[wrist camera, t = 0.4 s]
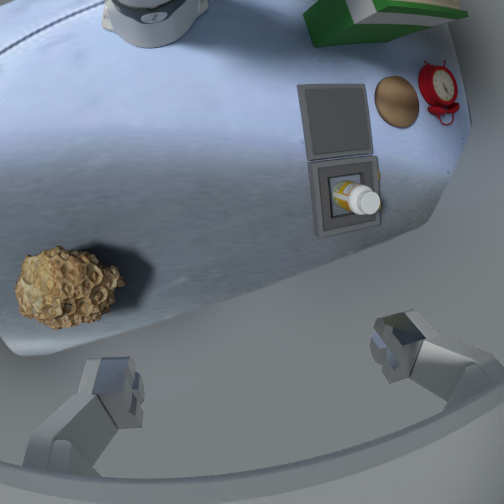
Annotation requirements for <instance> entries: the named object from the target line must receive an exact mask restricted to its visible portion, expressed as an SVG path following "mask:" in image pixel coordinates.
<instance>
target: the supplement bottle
mask: <svg viewBox="0 0 504 504" xmlns="http://www.w3.org/2000/svg"><path fill="white" fill-rule="evenodd" d="M333 200H334V202H335V203H336V205H337V206H339V207H341V208H343V209H346V210H348V211H351V212H353V213H355V214H358V215H364V214H374V213H375V212H376V211H377V210H378V208H379V206H380V198H379V196H378V194H377V193H375V192H373V191H372V189H371V188H370V187H368V186H366V185H362V184H358V183H354V182H350V181H341V182H339V183H338V184H337V185H336V186H335V188H334V190H333Z"/></svg>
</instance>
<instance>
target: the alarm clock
mask: <svg viewBox="0 0 504 504" xmlns="http://www.w3.org/2000/svg"><path fill="white" fill-rule="evenodd" d="M424 62H425V63H426V61H424ZM445 62H446V61H445V60H444V67H443V66H434V65H429V64H427V63H426V64H427V65H426V66H424V67H423V68H422V69H421V71H420V73H419V79H418V81H419V88H420V91H421V94H422V96H423V97H424V99H425V100H426V102H427V103H428V104H429V105H431V106H433V107H428V111H429V112H430V113H432V114H435V115H437V117H439V119H440V116H439V115H444V114H445V113H452V116H453V113H454V114H455V112H456V111H458V110H459V107H460V106H459V103H456V102H454V101H455V100H456V98H457V92H458V90H457V83H456V80H455V78H454V76H453V74H452V73H451V72H450V71H449V70H448V69H447V68H445ZM453 102H454V103H453ZM445 105H446V106H447V105H448V106H449V108H448V106H447V108H448V110H445V108H444V109H443V108H442V107H444V106H445ZM453 119H454V117H453ZM453 119H452V122H453ZM440 122H441V123H442V121H441V119H440ZM452 122H451V123H452ZM451 123H449V124H444V123H442V124H443V125H450V124H451Z"/></svg>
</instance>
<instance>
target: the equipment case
mask: <svg viewBox="0 0 504 504" xmlns="http://www.w3.org/2000/svg"><path fill="white" fill-rule="evenodd" d="M297 90H298V97H299V103H300V110H301V117H302V124H303V131H304V139H305V147H306V155H307V160H314V159H322V158H330V157H339V156H348V155H358V154H368V153H373V149H372V139H371V130H370V121H369V113H368V105H367V98H366V91H365V85H364V84H306V85H297ZM308 171H309V180H310V189H311V199H312V209H313V219H314V230H315V236H317V237H318V238H321V237H326V236H330V235H335V234H339V233H344V232H348V231H353V230H358V229H362V228H367V227H371V226H376V225H380V210H381V200H380V206H379V208H378V210H377V211H376V212H375V213H374V214H364V215H358V214H355V213H347V214H342V215H337V216H332V217H331V212H330V200H329V189H328V178H327V177H333V176H340V175H347V174H354V173H360V181H361V184H362V185H366V186H368V187H370V188H371V189H372V191H373V192H375V193H377V194H378V196H379V185H378V181H379V170H377V157H376V156H373V155H369V156H359V157H349V158H341V159H332V160H324V161H316V162H309V163H308Z"/></svg>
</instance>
